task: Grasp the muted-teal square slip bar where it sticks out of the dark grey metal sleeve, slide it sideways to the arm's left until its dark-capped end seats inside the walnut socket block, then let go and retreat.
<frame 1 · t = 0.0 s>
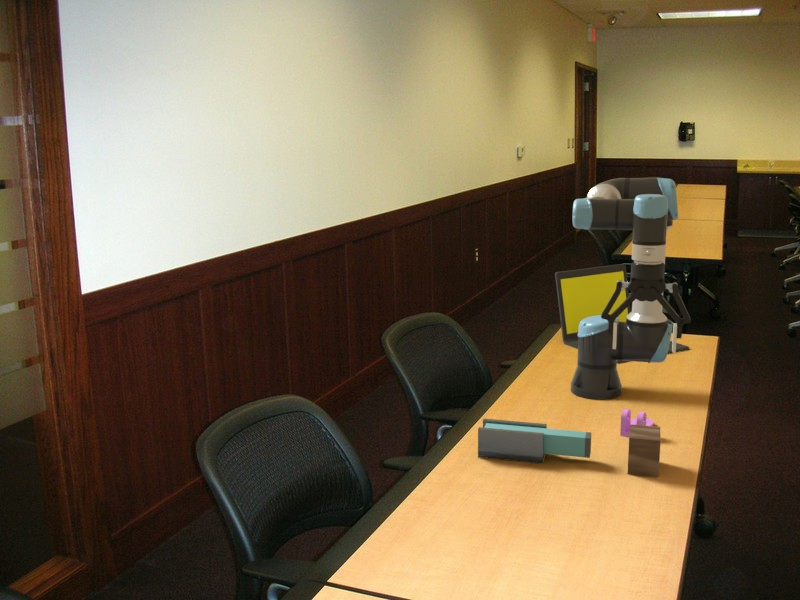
hand: (643, 349, 198), 28 cm above the table, fingers open, 13 cm apart
laptop: (619, 346, 304), on the table
bracket: (638, 431, 223), on the table
slip bar: (536, 440, 205), point 5 cm above the table, slide at 0.0 cm
sleeve: (512, 454, 208), on the table
socket block: (643, 467, 199), on the table
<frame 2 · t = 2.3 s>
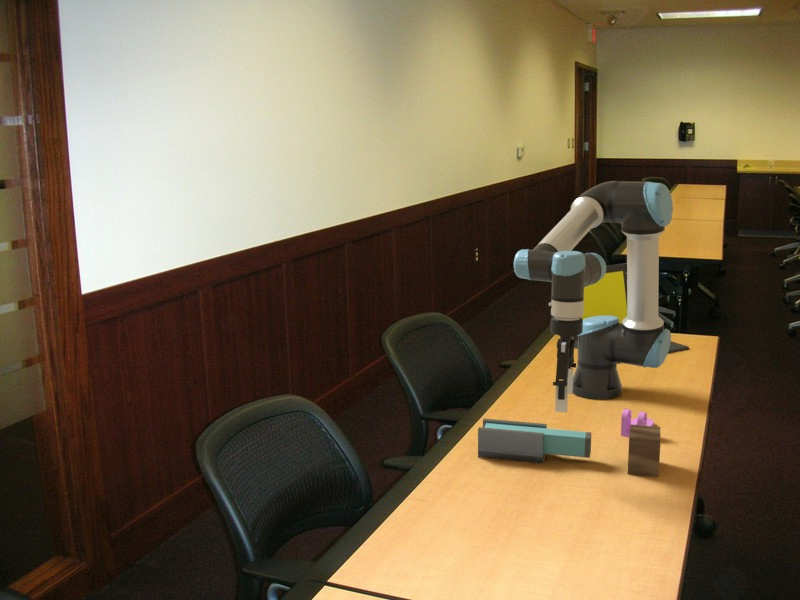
hand: (564, 402, 201), 15 cm above the table, fingers open, 13 cm apart
nothing on the table moved.
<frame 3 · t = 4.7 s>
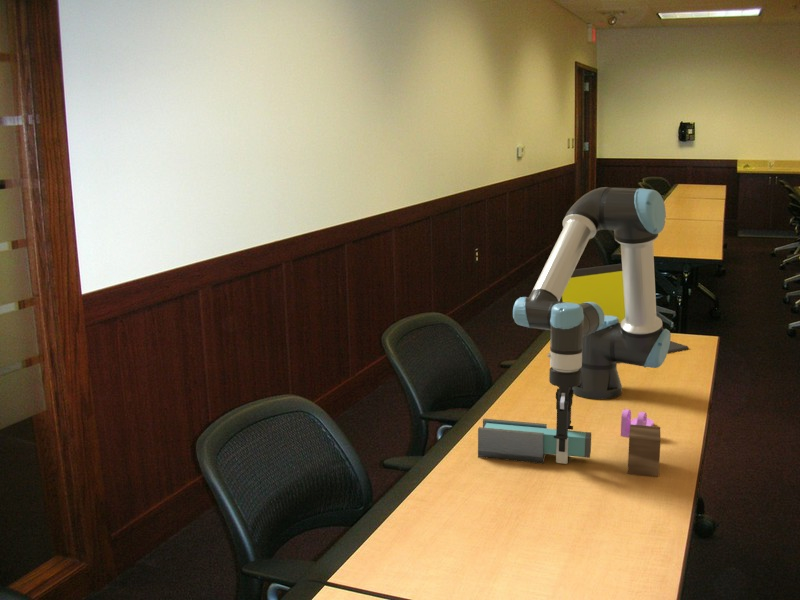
hand: (562, 458, 205), 0 cm above the table, fingers closed on slip bar, 4 cm apart
slip bar: (536, 440, 205), point 4 cm above the table, slide at 0.0 cm, touching gripper
everything else where it was.
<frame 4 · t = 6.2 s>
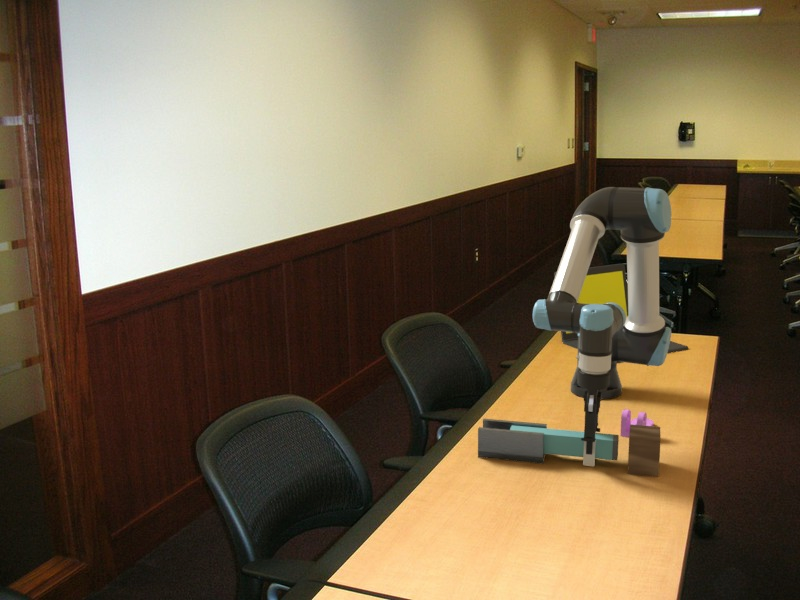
hand: (589, 461, 203), 0 cm above the table, fingers closed on slip bar, 4 cm apart
slip bar: (563, 442, 204), point 5 cm above the table, slide at 6.5 cm, touching gripper
everything else where it was.
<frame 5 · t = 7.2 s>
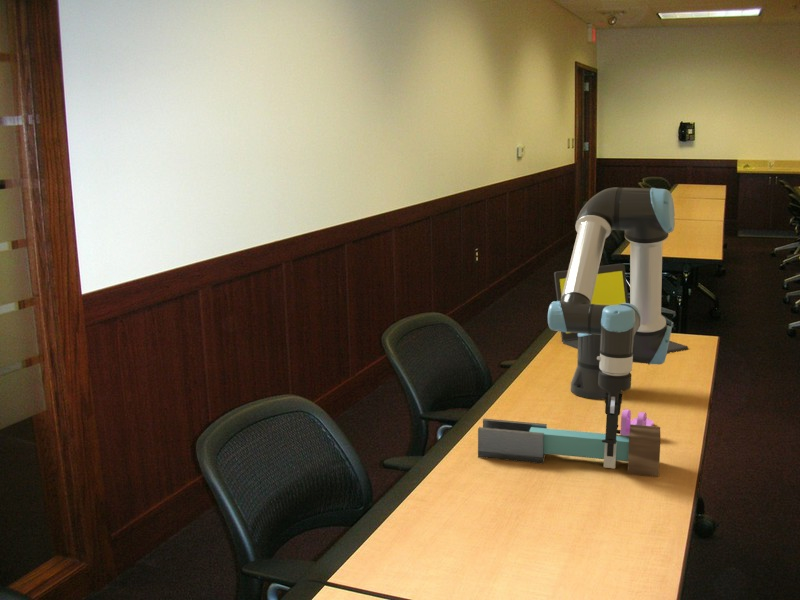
hand: (609, 463, 201), 0 cm above the table, fingers closed on slip bar, 4 cm apart
slip bar: (583, 444, 202), point 5 cm above the table, slide at 11.3 cm, touching gripper
everything else where it was.
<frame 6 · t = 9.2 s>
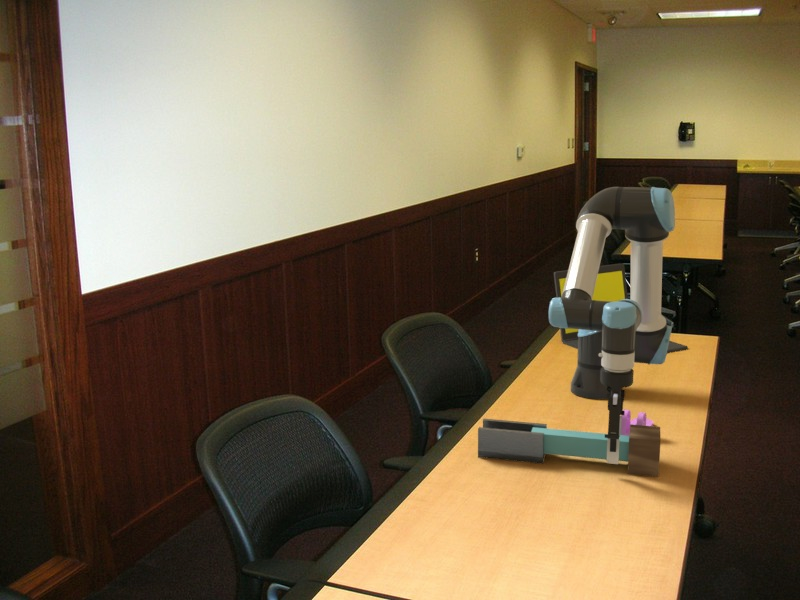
hand: (613, 451, 201), 3 cm above the table, fingers open, 13 cm apart
slip bar: (585, 444, 202), point 5 cm above the table, slide at 11.7 cm
everything else where it was.
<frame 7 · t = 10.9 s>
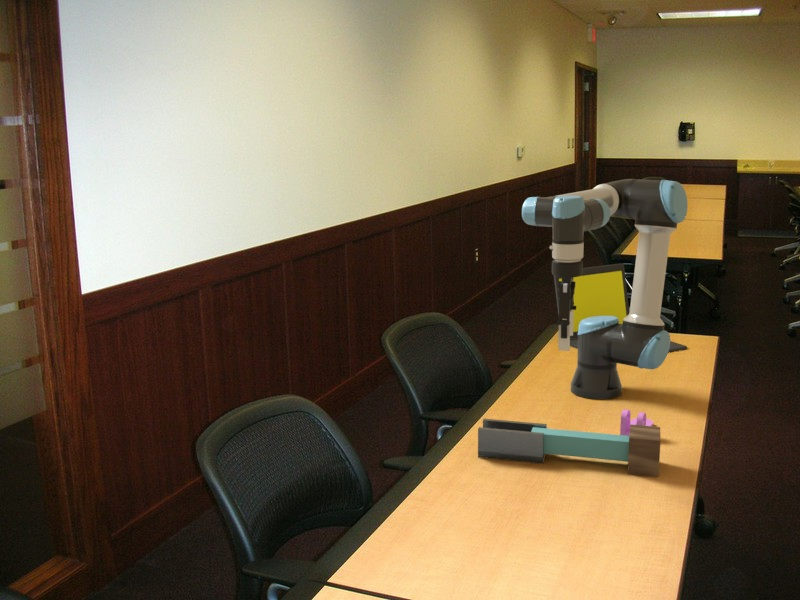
hand: (565, 342, 209), 27 cm above the table, fingers open, 13 cm apart
nothing on the table moved.
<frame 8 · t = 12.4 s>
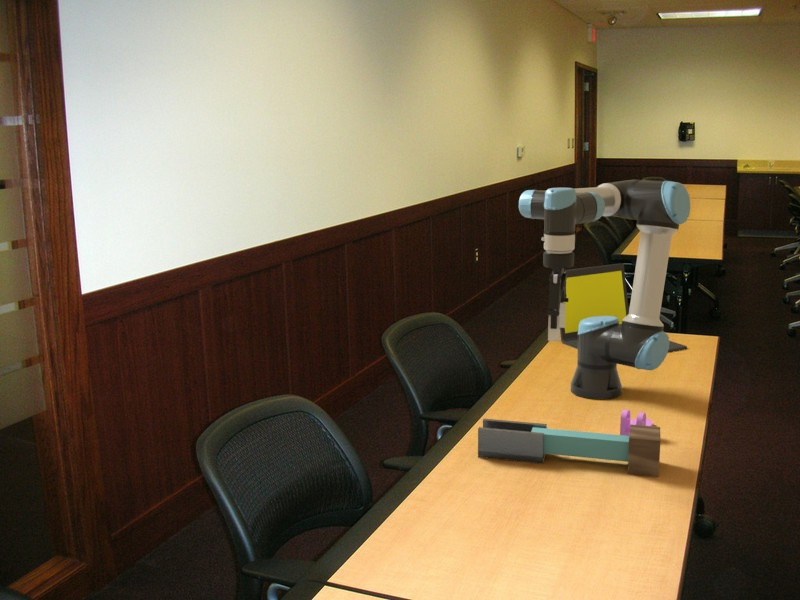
hand: (556, 333, 211), 29 cm above the table, fingers open, 13 cm apart
at the end: slip bar slide at 11.7 cm; the gripper is holding nothing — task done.
